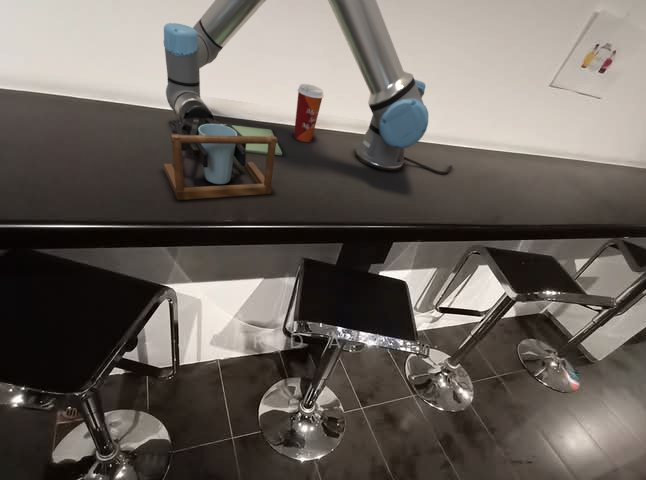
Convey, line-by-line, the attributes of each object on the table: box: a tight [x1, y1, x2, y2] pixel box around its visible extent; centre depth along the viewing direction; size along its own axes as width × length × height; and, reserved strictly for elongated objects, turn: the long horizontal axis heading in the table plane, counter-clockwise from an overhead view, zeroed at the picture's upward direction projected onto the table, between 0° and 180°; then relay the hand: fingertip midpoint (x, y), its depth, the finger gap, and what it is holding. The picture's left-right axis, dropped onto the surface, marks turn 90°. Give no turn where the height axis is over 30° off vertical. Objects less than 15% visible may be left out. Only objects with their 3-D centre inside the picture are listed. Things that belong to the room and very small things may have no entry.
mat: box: [220, 123, 283, 156], centre depth 97 cm, size 18×16×1 cm
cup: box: [198, 124, 237, 185], centre depth 74 cm, size 8×8×10 cm
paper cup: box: [293, 83, 325, 143], centre depth 102 cm, size 8×8×14 cm
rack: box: [163, 133, 278, 201], centre depth 73 cm, size 21×12×13 cm, turn 119°
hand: (225, 160), depth 70 cm, fingers closed on cup, 7 cm apart
